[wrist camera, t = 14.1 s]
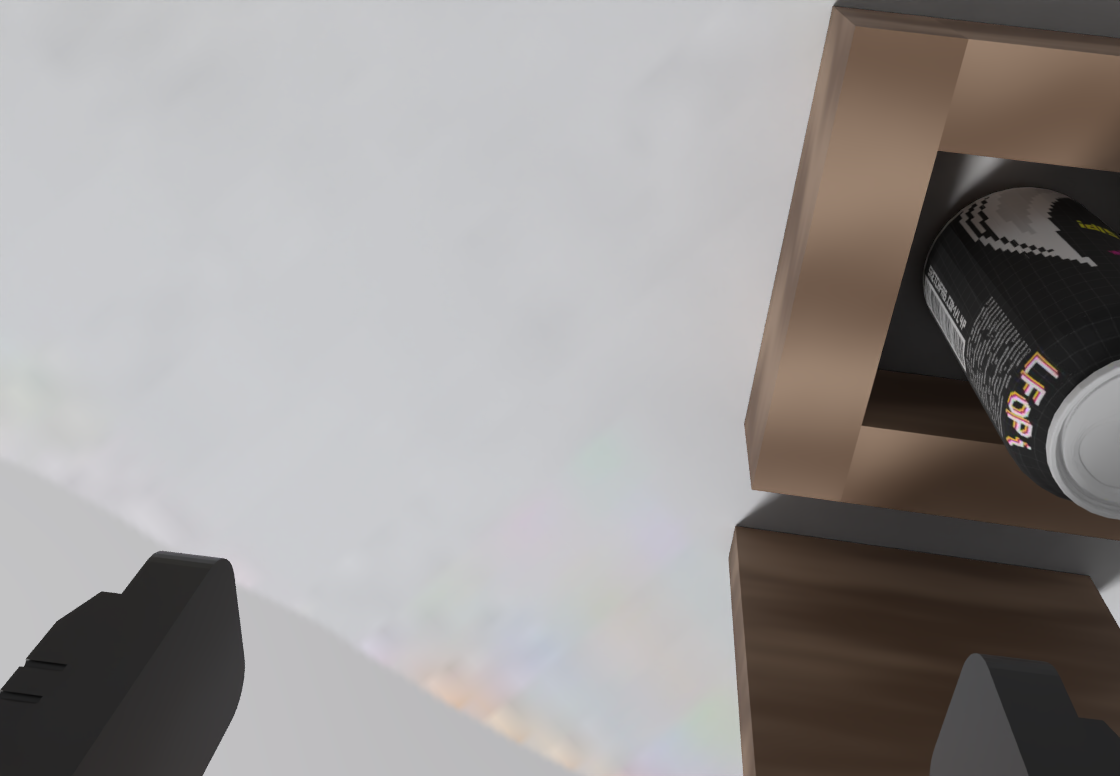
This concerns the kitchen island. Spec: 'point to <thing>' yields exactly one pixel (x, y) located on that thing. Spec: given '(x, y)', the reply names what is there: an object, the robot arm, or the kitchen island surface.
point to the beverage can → (1038, 334)
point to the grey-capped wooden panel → (892, 648)
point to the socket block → (882, 252)
